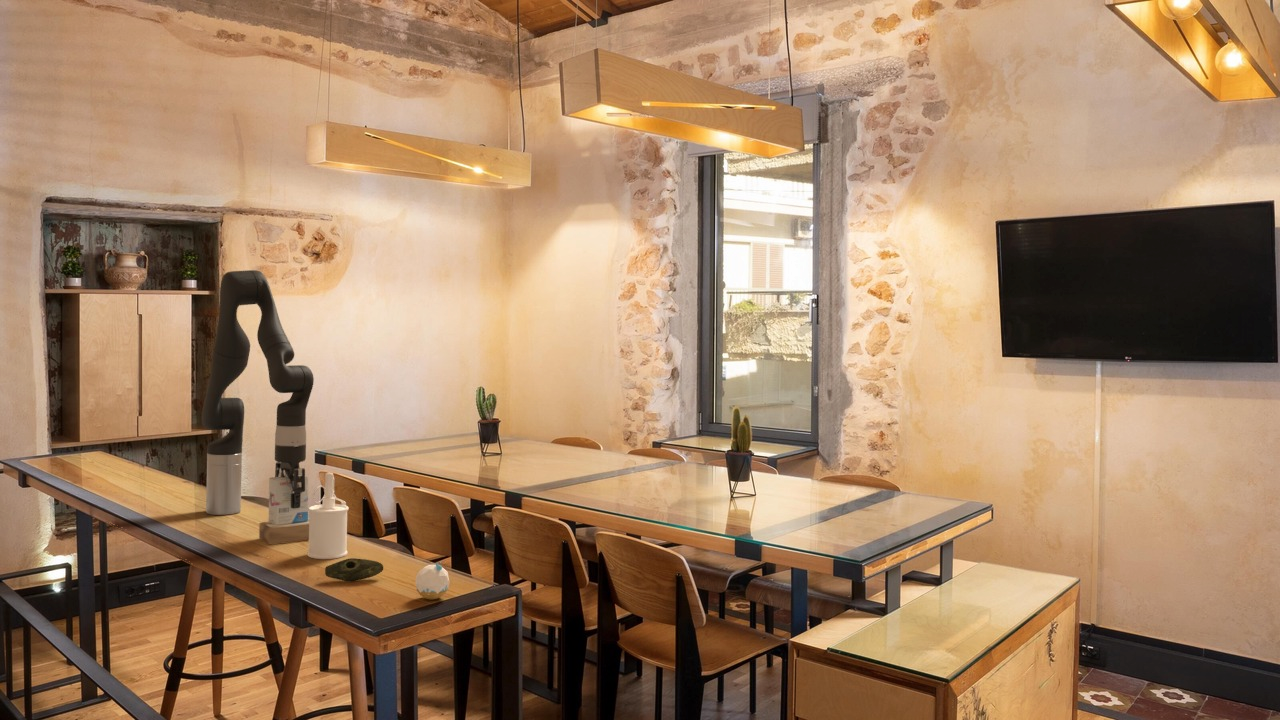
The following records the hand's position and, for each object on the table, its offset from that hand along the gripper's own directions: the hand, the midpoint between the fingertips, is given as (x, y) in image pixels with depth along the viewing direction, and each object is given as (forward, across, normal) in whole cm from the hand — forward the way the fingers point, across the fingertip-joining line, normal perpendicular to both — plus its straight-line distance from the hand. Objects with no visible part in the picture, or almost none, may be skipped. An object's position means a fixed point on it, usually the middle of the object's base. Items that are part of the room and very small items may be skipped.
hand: (289, 505), depth 241 cm
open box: (+9, 0, 0) cm, 9 cm away
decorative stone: (+9, +46, -3) cm, 47 cm away
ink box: (+5, 0, 0) cm, 5 cm away
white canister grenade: (+9, +21, +2) cm, 23 cm away
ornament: (+9, +68, +4) cm, 69 cm away
